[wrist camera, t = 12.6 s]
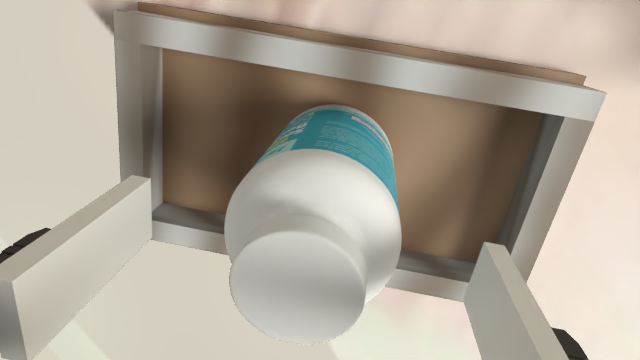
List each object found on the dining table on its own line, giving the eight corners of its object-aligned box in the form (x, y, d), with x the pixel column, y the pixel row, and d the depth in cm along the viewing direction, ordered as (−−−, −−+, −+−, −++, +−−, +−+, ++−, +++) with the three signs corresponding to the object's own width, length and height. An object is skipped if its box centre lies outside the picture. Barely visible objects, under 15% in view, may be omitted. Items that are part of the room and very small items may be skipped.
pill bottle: (301, 82, 24) (223, 149, 12) (413, 130, 24) (453, 245, 12) (262, 186, 27) (167, 328, 15) (363, 228, 27) (354, 403, 15)
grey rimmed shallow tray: (153, 214, 31) (123, 240, 27) (150, 3, 25) (112, 0, 21) (493, 281, 29) (511, 318, 26) (573, 72, 24) (611, 82, 20)
